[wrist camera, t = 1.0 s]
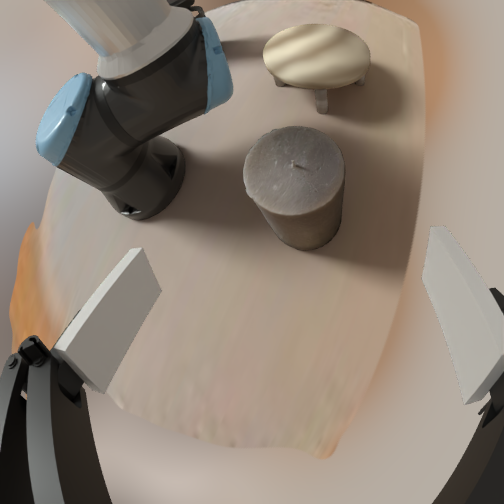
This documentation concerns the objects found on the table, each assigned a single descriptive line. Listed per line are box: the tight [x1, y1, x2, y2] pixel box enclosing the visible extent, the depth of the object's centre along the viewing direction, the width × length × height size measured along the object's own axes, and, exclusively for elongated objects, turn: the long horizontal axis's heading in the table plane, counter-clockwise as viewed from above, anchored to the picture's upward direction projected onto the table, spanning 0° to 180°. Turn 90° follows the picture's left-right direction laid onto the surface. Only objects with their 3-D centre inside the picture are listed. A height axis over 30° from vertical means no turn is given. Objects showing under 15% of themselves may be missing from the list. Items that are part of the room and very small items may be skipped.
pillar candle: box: [243, 126, 345, 250], centre depth 30 cm, size 10×10×15 cm
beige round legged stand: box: [263, 24, 370, 114], centre depth 37 cm, size 17×17×8 cm
